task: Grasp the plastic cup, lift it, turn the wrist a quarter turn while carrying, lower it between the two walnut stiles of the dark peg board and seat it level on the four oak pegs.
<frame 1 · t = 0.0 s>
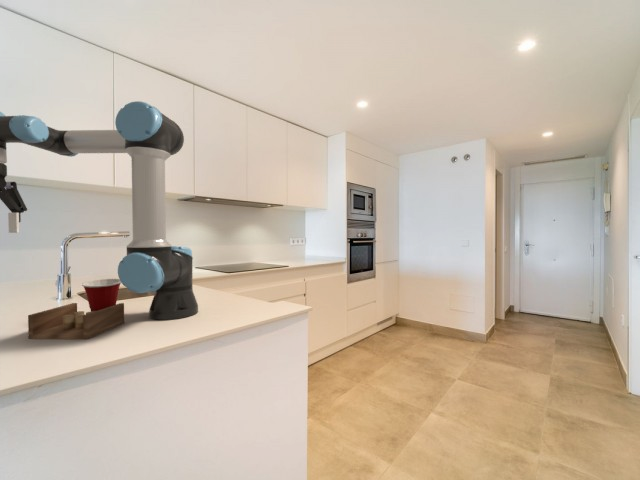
plastic cup: (103, 317, 100), on the countertop
peg board: (80, 330, 86), on the countertop
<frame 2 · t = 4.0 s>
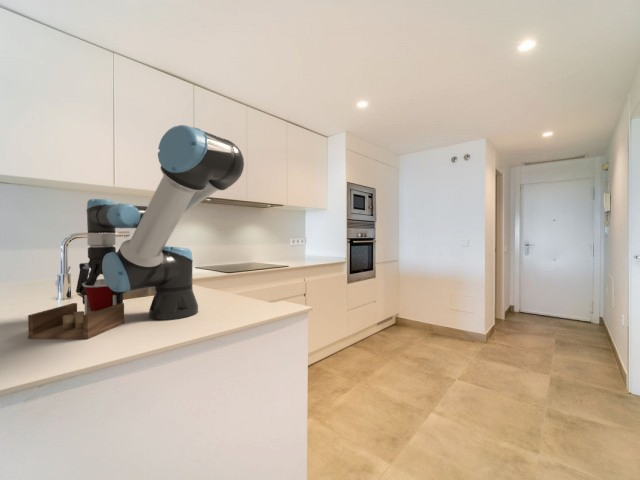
hand: (103, 313, 100), 1 cm above the countertop, fingers closed on plastic cup, 9 cm apart
plastic cup: (103, 317, 100), on the countertop, touching gripper
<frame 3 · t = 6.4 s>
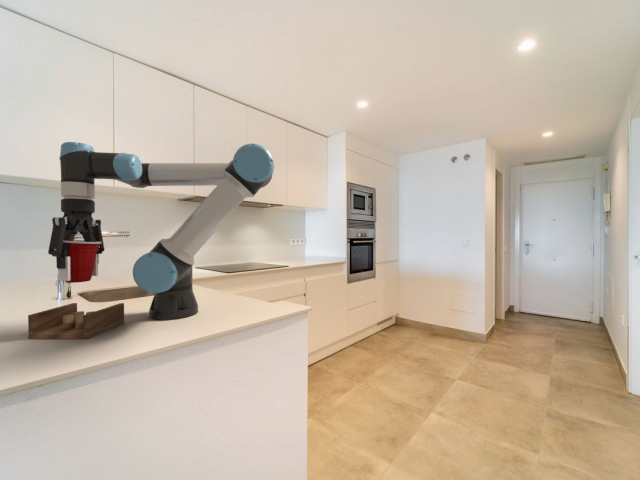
hand: (79, 278, 86), 15 cm above the countertop, fingers closed on plastic cup, 9 cm apart
plastic cup: (79, 282, 86), point 14 cm above the countertop, touching gripper
when the fingers open (7 cm above the countertop, at t = 8.7 s): plastic cup drops 1 cm, resting on peg board.
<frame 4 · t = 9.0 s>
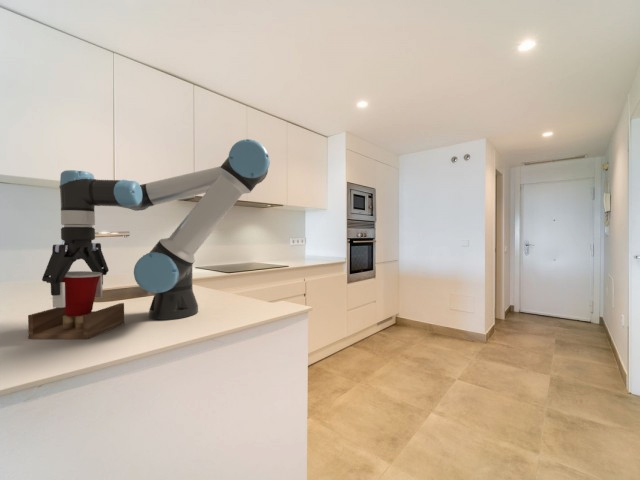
hand: (79, 301, 86), 8 cm above the countertop, fingers open, 12 cm apart
plastic cup: (80, 314, 86), point 4 cm above the countertop, touching peg board
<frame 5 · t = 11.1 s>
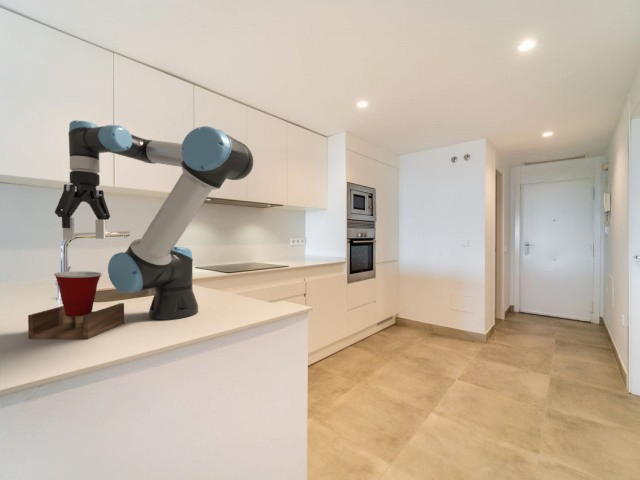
hand: (85, 239, 96), 26 cm above the countertop, fingers open, 13 cm apart
nothing on the countertop moved.
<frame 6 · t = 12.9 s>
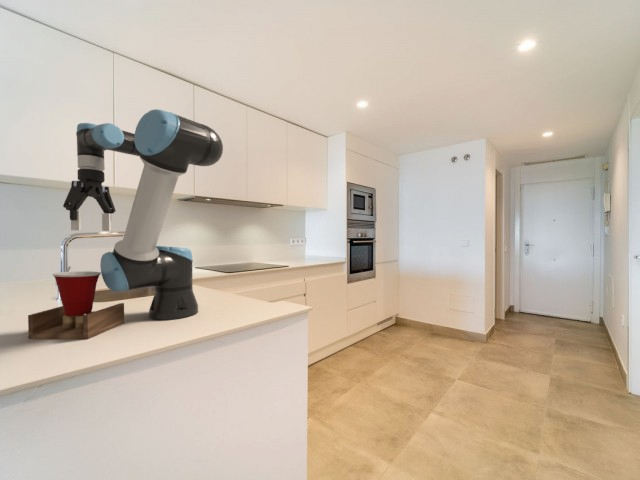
hand: (92, 230, 106), 29 cm above the countertop, fingers open, 13 cm apart
plastic cup: (80, 314, 86), point 5 cm above the countertop, touching arm, peg board
at the end: plastic cup 0.1 cm from the peg board (horizontally); plastic cup point 4.6 cm above the countertop; plastic cup tilted 2° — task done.
